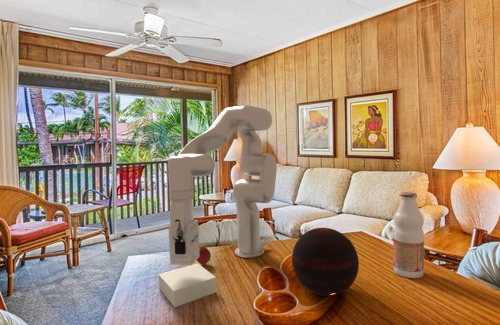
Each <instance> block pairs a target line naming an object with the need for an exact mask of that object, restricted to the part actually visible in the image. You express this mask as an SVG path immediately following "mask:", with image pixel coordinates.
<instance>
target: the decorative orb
mask: <svg viewBox="0 0 500 325" xmlns="http://www.w3.org/2000/svg"><path fill="white" fill-rule="evenodd" d="M294 244H295V245H294V246H293V250H292V254H291V265H292V270H293V272H294V275H295V277H296V279H297V280H298V281H299V283H300V284H301V285H302V286H303V287H304V288H305V289H307V290H308V291H309V292H311V293H314V294H316V295H319V296H325V297H329V295H330V294H332V293H336V294H337V295H339V294H342V293H344V292H345V291H347V290H348V289H349V288H350V287H351V286H352V285H353V284H354V282H355V280H356V278H357V277H358V274H359V266H360V263H359V256H358V252H357V250H356V248H355V246H354V244H353V243H352V241H350V239H349V238H348V237H347V236H346V235H345V234H343V233H342V232H341V231H338V230H336V229H334V228H330V227H317V228H313V229H310V230H308V231H306V232H305V233H303V234H302V235H301V236H300V237H299V239H297V240H296V242H295V243H294Z"/></svg>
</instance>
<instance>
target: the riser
mask: <svg viewBox="0 0 500 325" xmlns="http://www.w3.org/2000/svg"><path fill="white" fill-rule="evenodd" d="M158 286H159V290H160V292H161V293H162V294H163V295H164V296H165V297H166V299H167V301H168V302H170V304H171V305H172V306H173V307H174V308H177V307H180V306H182V305H184V304H188V303H191V302H193V301H196V300H199V299H202V298H205V297H208V296H211V295H213V294H216V293H217V291H218V289H217V277H216V276H215V275H214V274H212V273H211V272H210V271H209V270H207V269H206V268H204V267H203V265H202V264H200V263H199V262H197V263H193V264H192V265H185V266H182V267H178V268H175V269H173V270H170V271H166V272H162V273H158Z"/></svg>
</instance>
